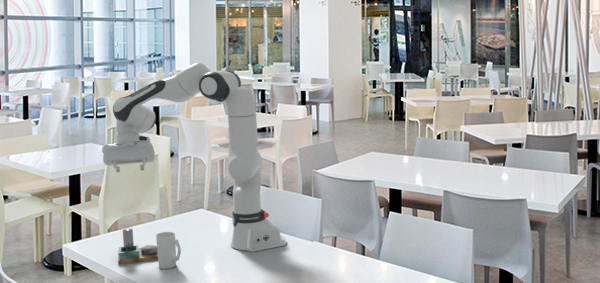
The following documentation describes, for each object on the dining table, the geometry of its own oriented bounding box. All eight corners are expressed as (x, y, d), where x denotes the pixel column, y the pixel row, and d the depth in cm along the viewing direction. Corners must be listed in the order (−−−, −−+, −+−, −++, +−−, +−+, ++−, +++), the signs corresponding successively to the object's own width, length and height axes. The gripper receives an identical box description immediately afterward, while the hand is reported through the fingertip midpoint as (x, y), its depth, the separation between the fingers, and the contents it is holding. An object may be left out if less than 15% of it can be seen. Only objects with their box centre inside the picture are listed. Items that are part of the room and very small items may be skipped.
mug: (154, 267, 208) (152, 235, 206) (167, 261, 214) (165, 230, 212) (175, 272, 203) (173, 239, 202) (187, 265, 209) (185, 234, 207)
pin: (134, 252, 220) (132, 228, 218) (134, 256, 216) (132, 230, 215) (124, 254, 219) (122, 229, 217) (124, 257, 215) (122, 231, 214)
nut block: (157, 249, 228) (157, 239, 227) (159, 259, 216) (159, 249, 216) (118, 254, 223) (118, 244, 223) (118, 264, 212) (117, 254, 211)
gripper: (101, 140, 231) (102, 168, 223) (153, 137, 236) (155, 164, 229) (102, 149, 236) (103, 177, 228) (153, 146, 241) (156, 173, 234)
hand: (130, 170), depth 228 cm, fingers open, 8 cm apart
